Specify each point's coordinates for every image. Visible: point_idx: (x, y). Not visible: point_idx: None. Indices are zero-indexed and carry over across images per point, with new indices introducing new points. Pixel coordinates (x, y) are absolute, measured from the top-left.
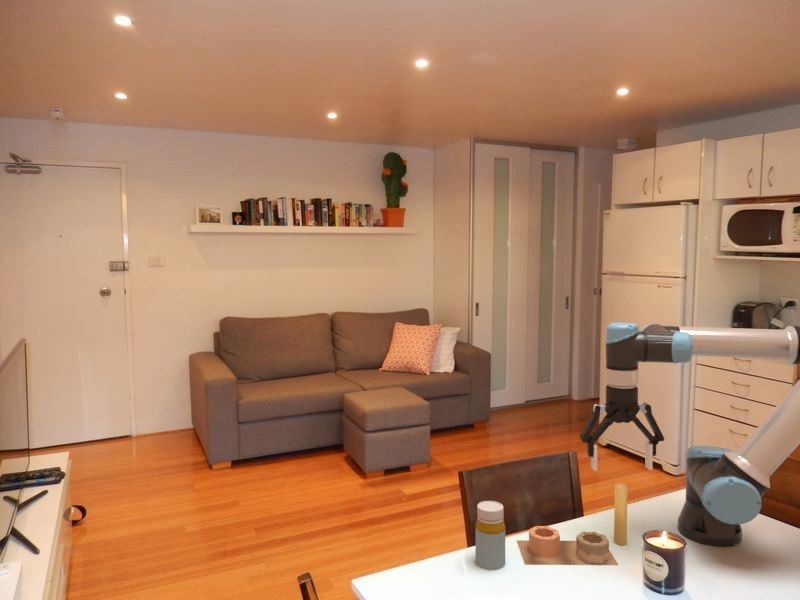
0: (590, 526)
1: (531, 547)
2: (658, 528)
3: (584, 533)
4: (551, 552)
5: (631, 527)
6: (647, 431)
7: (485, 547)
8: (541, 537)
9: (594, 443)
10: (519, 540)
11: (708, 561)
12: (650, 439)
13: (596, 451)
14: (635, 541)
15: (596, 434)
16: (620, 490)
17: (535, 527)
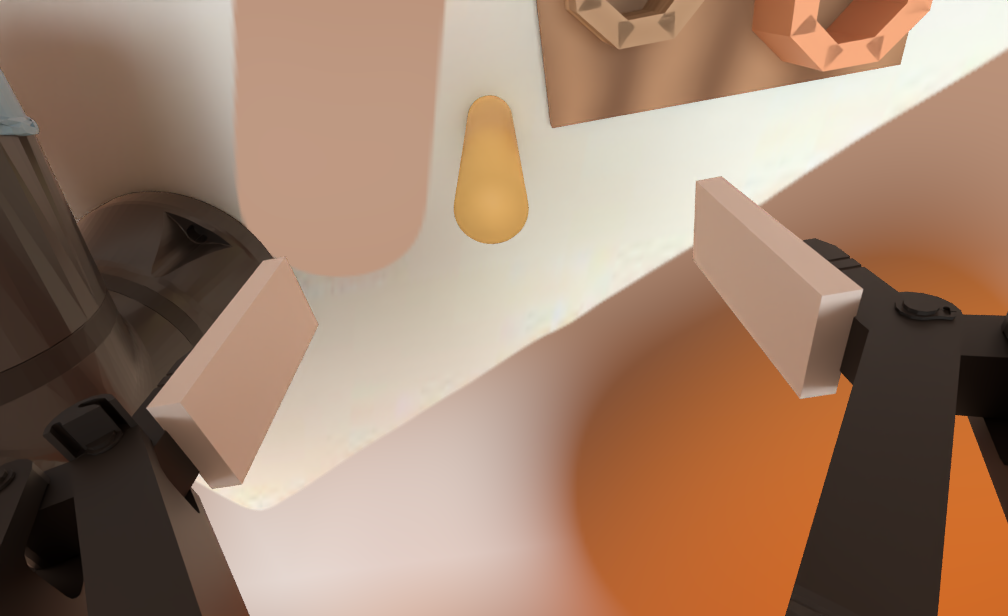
0: (567, 261)
1: None
2: (347, 285)
3: (671, 18)
4: None
5: (433, 277)
6: (104, 558)
7: None
8: None
9: (821, 354)
10: (888, 65)
11: (174, 62)
12: (136, 456)
13: (790, 255)
14: (429, 178)
15: (944, 400)
16: (500, 169)
17: (885, 45)
